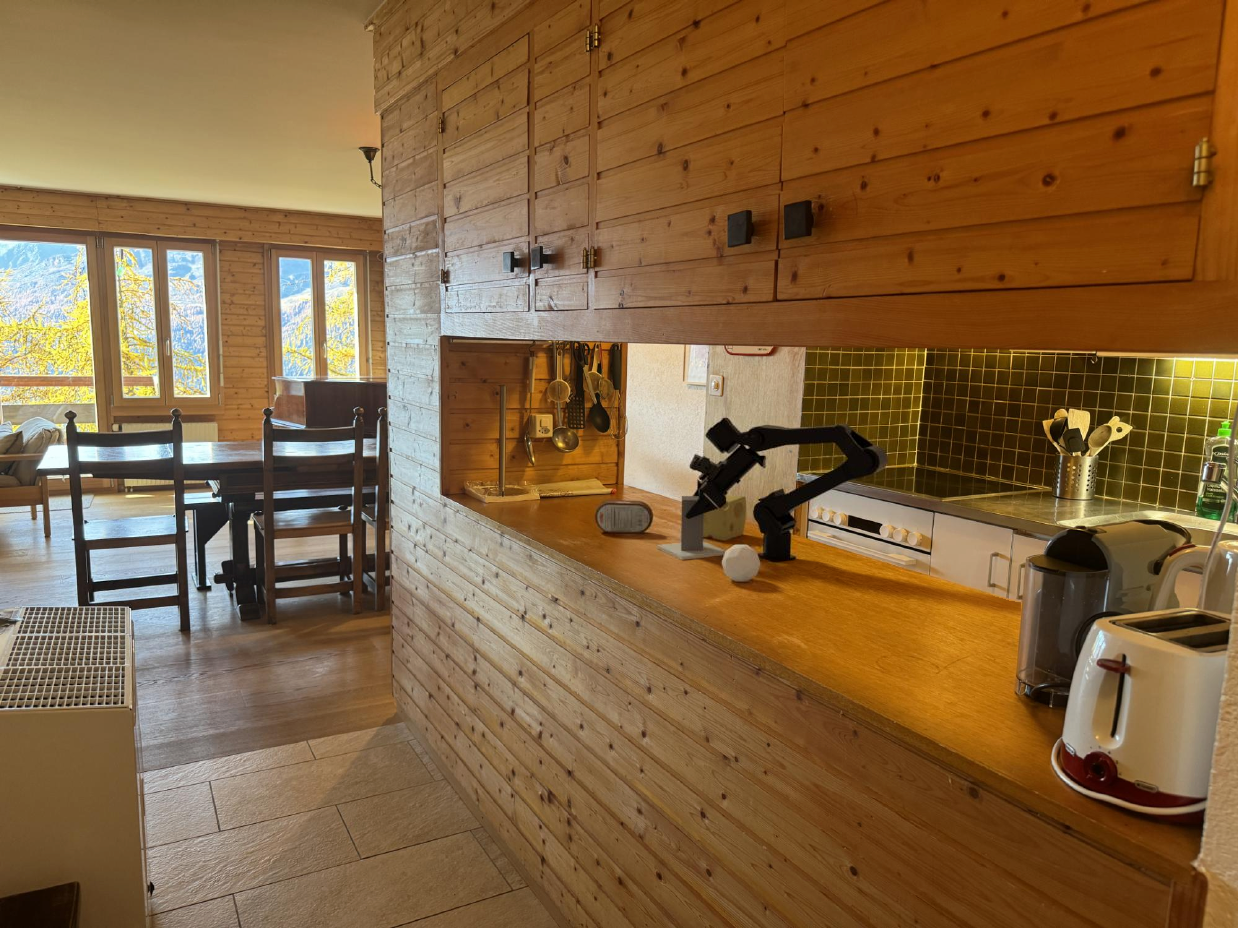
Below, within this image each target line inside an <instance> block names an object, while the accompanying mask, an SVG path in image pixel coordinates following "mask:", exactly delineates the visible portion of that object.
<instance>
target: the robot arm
mask: <svg viewBox="0 0 1238 928" xmlns="http://www.w3.org/2000/svg"><path fill="white" fill-rule="evenodd" d="M705 438H706V439H707V440H708V441H709V442H710V443H711V444H712V445H713V446H714V447H715V448H716V449H717V450H718V452H719V453H720V454H727V455H728V456H727V457H726V458H725V459H724V460H719V461H718V462H717V463H716V462H713V461H711V459H710V458H709V457H707V456H705V455H703V456H701V455H700V454H697V453H695V454H694V455H693V458H692V460H691V461H690V463H689V469H691V470H692V471H697V472H699V473H701V474H700V475H699V476H698V479H697V481H696V485H697V487H696V488H697V489H696V490H695V492H694V493H693V495H692V496H699V497H698V499H697V500H696V502H695V503H694V504H693V506H692V507H691V508H690V510H689V511H688V512H687V514H686V515H685V517H686V518H687V519H690V518H693V517H696V516H698V515H701V514H704V513H707V512H709V511H712V510H715V509H716V510H717V509H718V507H719V508H721V507H722V506H723V505H725V504H726V495H729V494H728V492H729V490H731V488H733V487H734V486H735V485H736V484H737V485H738V484H740V483H741V479H742V478H743V477H744V476H745V475H747V474H748V473H749V472H750V471H751V470H752V469H753V468H754V467H755V466H756V465H759V466H760V467H761V468H762V469H765V468H767V465H766V461H767V456H766V455H761V454H760V453H759V452H764V451H767V450H772V449H776V448H780V447H784V446H795V445H796V446H799V445H815V444H816V445H818V444H835V445H836V446H837V447H838V449H840V451H841V453H843V455H844V456H845V457H846V458H847V459H845V460H844V461H843V462H842V463H841V464H840V465H838V467H835V468H834V469H832V470H830V471H828V472H826V473H824V474H822V475H820V476H818V477H816V478H814V479H813V480H811V481H809V482H807V483H804V484H803V485H801V486H799V487H798V488H795V489H793V490H791V491H789V492H786V493H785V490H784V489H785V488H780V489H778V490H775V491H772V492H770V493H769V494H768V495H766V496H763V497H760V498H758V499H757V501H758V502H757V503H756V504H754V506H753V510H752V514H753V518H754V520H755V522H756V523H757V525H758V529H759V531H760V534H763V538H762V539H763V540H762V541H763V542H762V552H757V554H758V557H761V558H763V559H765V560H768V561H770V562H781V561H782V562H783V561H790V560H796V559H797V556H795V555H792V554H791V553H792V552H791V551H792V550H791V548H792V547H791V546H792V532H791V531H792V530H794V529H795V526H796V525H797V522H798V521H797V520H796V518H795V517H794V516H793V515H792V513H793V512H794V511H795V510H796V509H797V508H799V507H800V506H802V505H803V504H805V503H807V502H809V501H811V500H813V499H815V498H817V497H820V496H821V495H824V494H825V493H827V492H829V491H831V490H833V489H836V488H837V487H840V486H842V485H844V484H845V483H847V482H850V481H854V480H857V479H860V478H864V477H867V476H870V475H873V474H876V473H878V472H880V471H882V470H884V469H886V467H887V466H888V462H889V455H888V454H887V452H886V450H885V449H884V448H883V447H882V446H879V445H875V444H873V443H872V442H871V441H870V440H868V439H867V438H866V437H864V436H863V435H861V434H859V433H858V432H857V431H855V430H854V429H853V428H852V427H851V426H850V425H849V424H845V423H841V424H835V425H825V426H824V425H823V426H821V425H820V426H804V427H785V426H781V425H772V424H763V425H757V426H752V427H750V428H749V430H748V431H742V432H741V431H740V429H738V428H737V427H736V425H734V423H733V422H732V421H731V419H730V418H728V417H722V418H721V420H719V421H718V422H716V423H715V424H714V425H713V426H712V427H710V428H708V430H707V432H706V433H705ZM747 447H748V448H747Z"/></svg>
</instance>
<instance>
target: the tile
mask: <svg viewBox="0 0 1238 928" xmlns="http://www.w3.org/2000/svg"><path fill="white" fill-rule="evenodd" d="M656 548H657V549H658V550H659V551H662V552H664V553H665V554H669V555H670V556H672V557H674V558H676V559H678V560H680V561H682V560H683V561H684V560H692V559H699V558H700V559H701V558H709V557H718V556H724V554H725V551H726V550H725V549H722V548H720V547H717V546H715V545H713V544H710V543H707V542H706V541H703V551H681V542H675V543H673V542H672V543H664V544H657V547H656Z"/></svg>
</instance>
